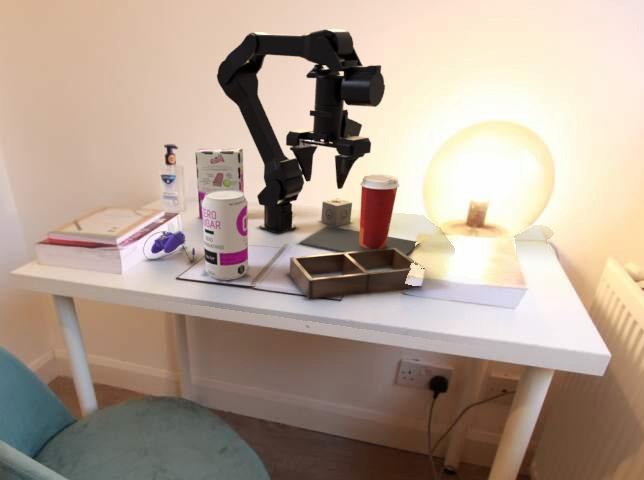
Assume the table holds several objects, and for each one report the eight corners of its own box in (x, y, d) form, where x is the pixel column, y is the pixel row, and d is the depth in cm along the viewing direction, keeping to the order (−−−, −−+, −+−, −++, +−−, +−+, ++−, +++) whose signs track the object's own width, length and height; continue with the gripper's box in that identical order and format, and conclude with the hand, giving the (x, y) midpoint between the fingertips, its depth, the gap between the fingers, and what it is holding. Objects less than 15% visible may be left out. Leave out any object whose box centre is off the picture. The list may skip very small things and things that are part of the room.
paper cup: (398, 246, 106) (408, 178, 98) (371, 253, 102) (380, 184, 95) (372, 236, 111) (379, 172, 104) (346, 242, 108) (352, 176, 101)
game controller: (132, 239, 102) (172, 220, 106) (149, 275, 105) (187, 255, 109) (149, 237, 93) (193, 217, 97) (167, 276, 96) (208, 255, 100)
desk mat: (299, 244, 109) (299, 242, 109) (327, 227, 119) (327, 225, 119) (397, 263, 98) (397, 262, 98) (419, 243, 108) (419, 242, 108)
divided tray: (289, 274, 94) (290, 257, 92) (392, 264, 98) (395, 247, 96) (308, 299, 85) (309, 280, 83) (422, 286, 88) (425, 268, 87)
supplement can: (253, 267, 98) (253, 190, 90) (239, 283, 91) (238, 201, 83) (215, 263, 100) (211, 187, 92) (199, 278, 93) (194, 198, 86)
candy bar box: (244, 214, 129) (244, 148, 121) (241, 219, 125) (240, 151, 117) (203, 212, 131) (199, 147, 123) (198, 218, 127) (194, 151, 119)
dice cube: (336, 218, 125) (337, 198, 123) (350, 223, 121) (352, 202, 119) (321, 221, 123) (322, 201, 120) (335, 226, 119) (336, 206, 117)
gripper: (393, 104, 96) (382, 186, 103) (322, 99, 108) (317, 172, 116) (355, 108, 90) (347, 195, 98) (285, 102, 102) (283, 179, 110)
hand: (323, 184), depth 106 cm, fingers open, 9 cm apart
